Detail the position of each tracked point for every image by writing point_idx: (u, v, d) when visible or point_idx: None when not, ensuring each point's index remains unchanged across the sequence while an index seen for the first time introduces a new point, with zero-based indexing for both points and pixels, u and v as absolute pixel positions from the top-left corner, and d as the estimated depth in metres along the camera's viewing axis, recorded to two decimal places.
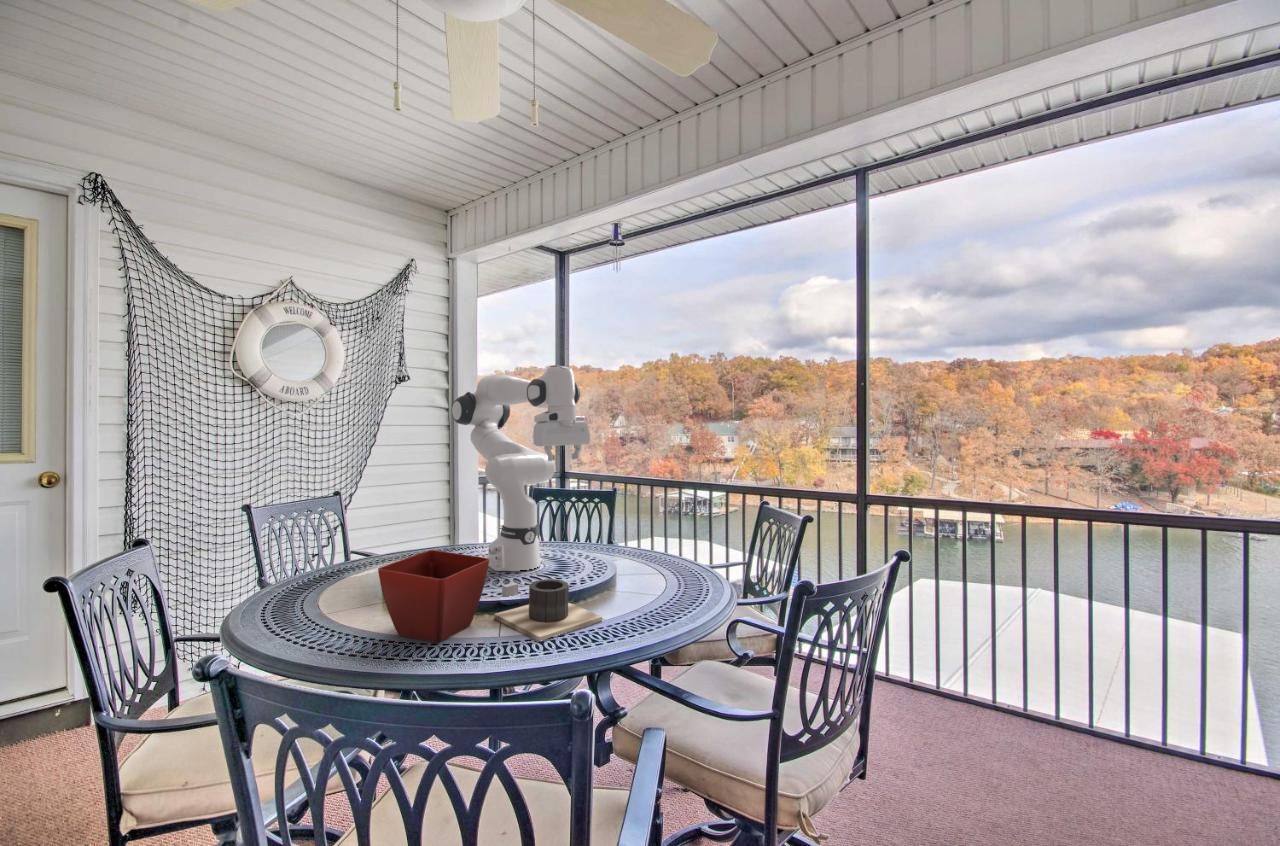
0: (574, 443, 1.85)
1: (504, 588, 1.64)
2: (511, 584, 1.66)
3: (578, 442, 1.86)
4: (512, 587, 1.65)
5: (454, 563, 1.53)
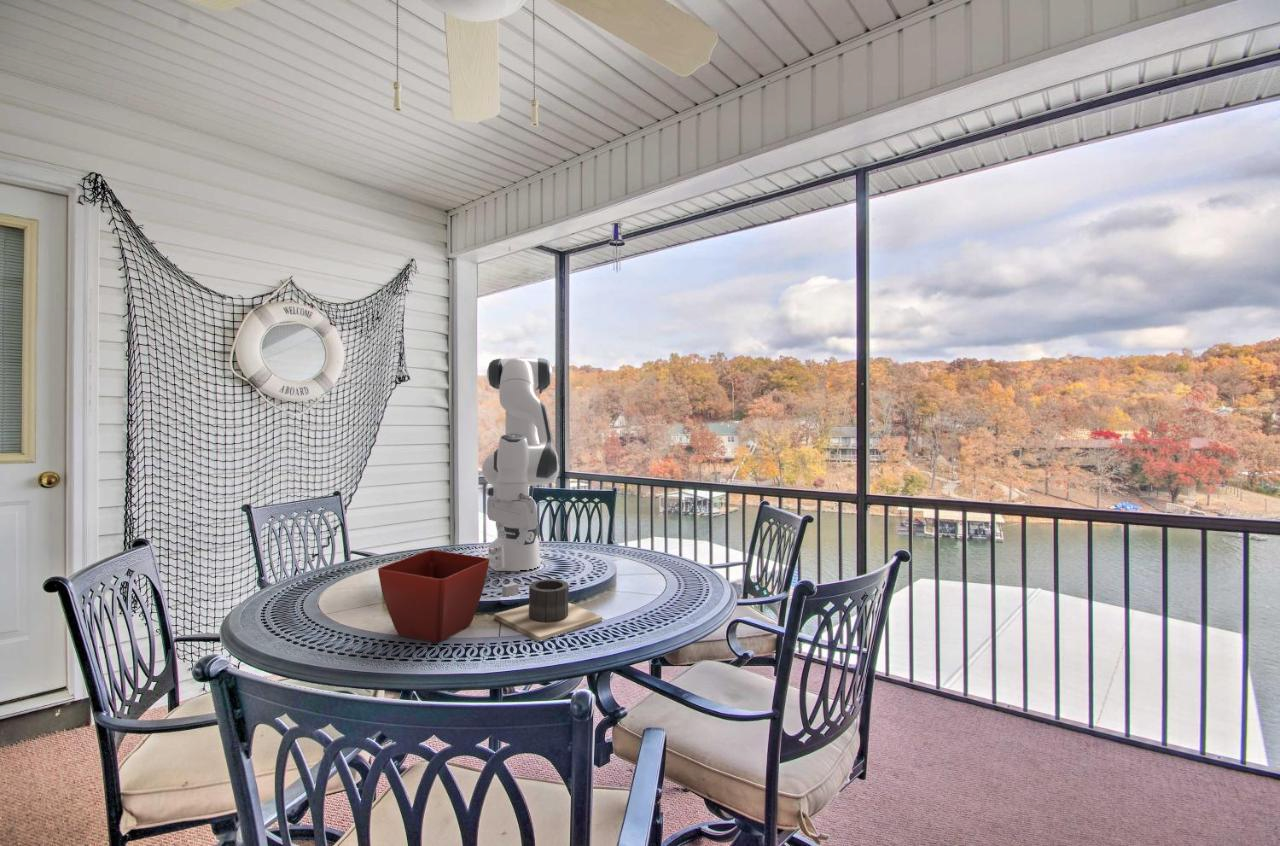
0: (512, 525, 1.62)
1: (504, 588, 1.64)
2: (511, 584, 1.66)
3: (515, 525, 1.60)
4: (512, 587, 1.65)
5: (454, 563, 1.53)
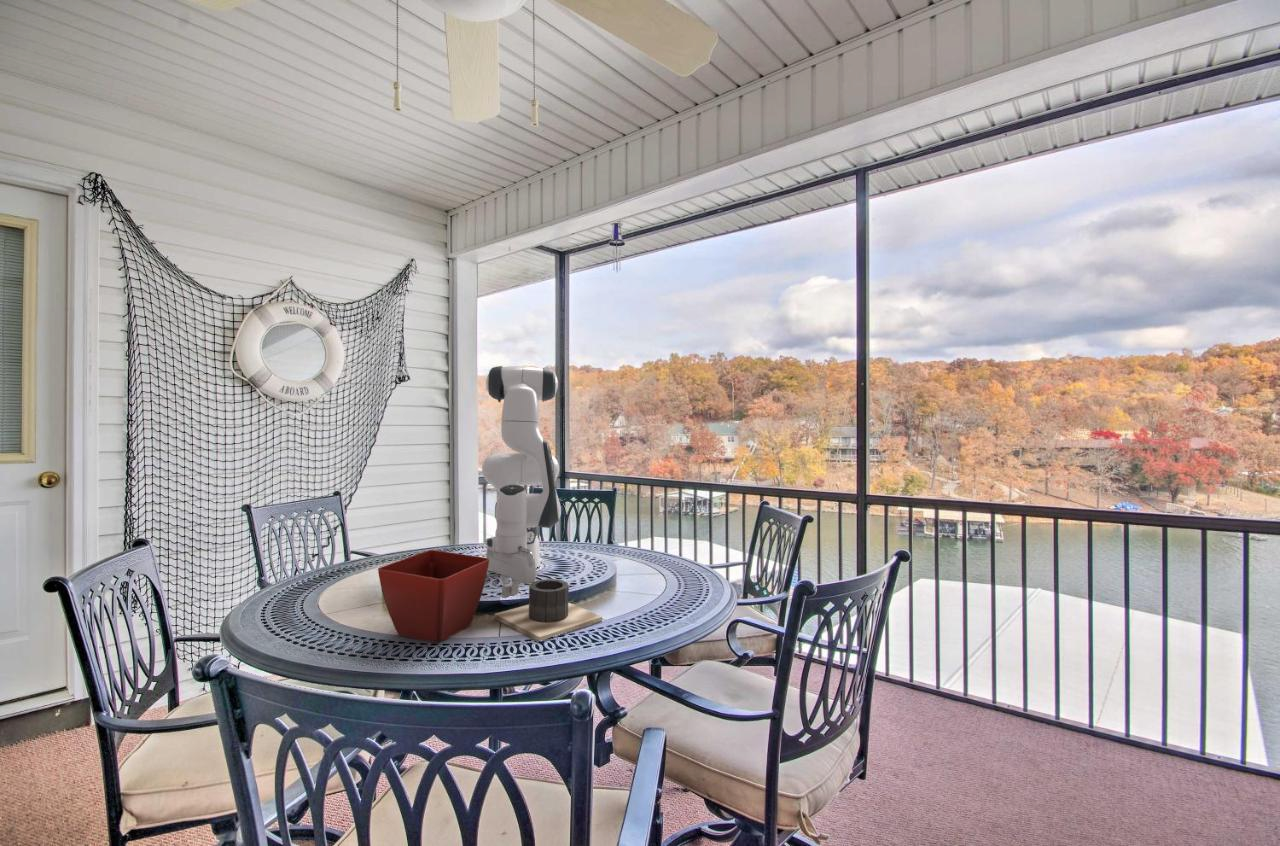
0: (511, 577, 1.62)
1: (504, 588, 1.64)
2: (511, 584, 1.66)
3: (514, 578, 1.61)
4: None
5: (454, 563, 1.53)
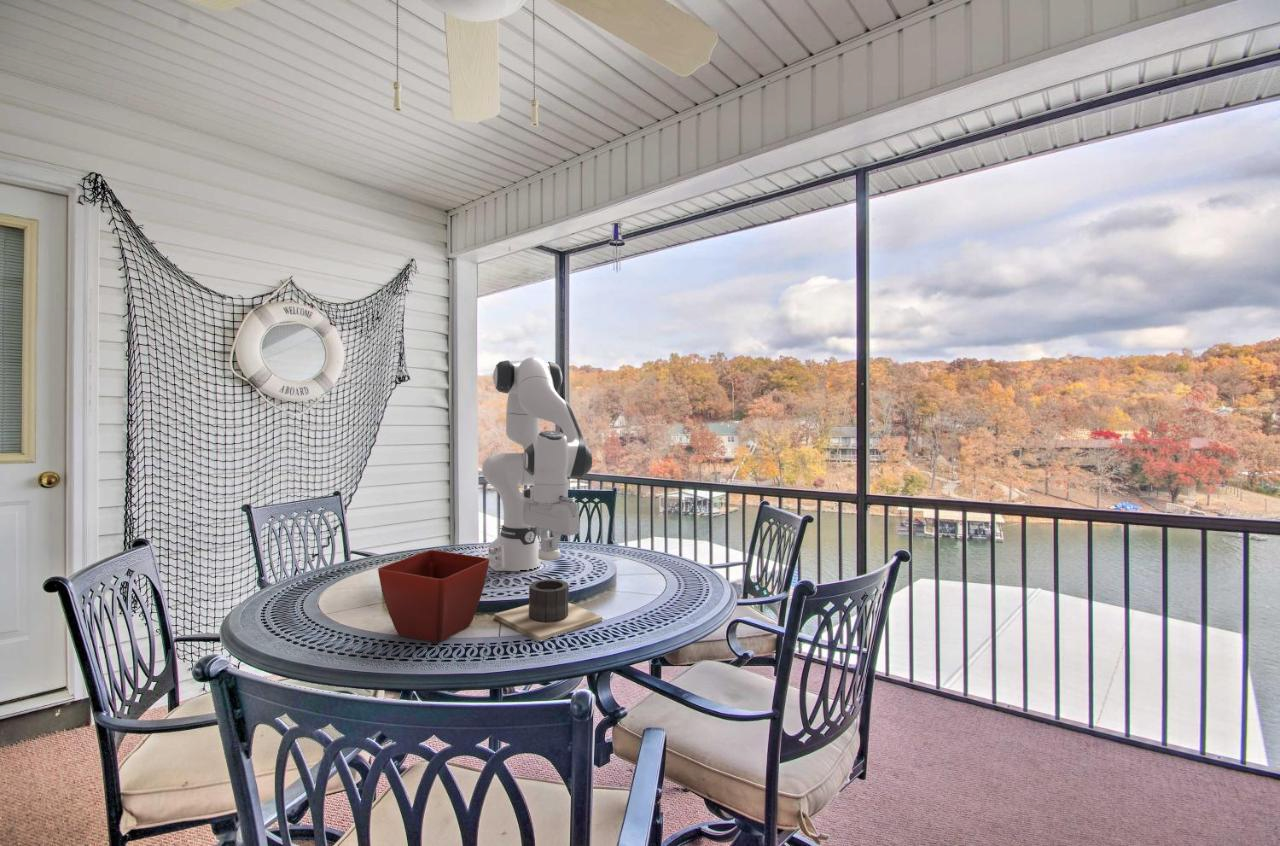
0: (552, 530, 1.49)
1: (543, 542, 1.51)
2: (550, 538, 1.53)
3: (555, 530, 1.48)
4: None
5: (454, 563, 1.53)
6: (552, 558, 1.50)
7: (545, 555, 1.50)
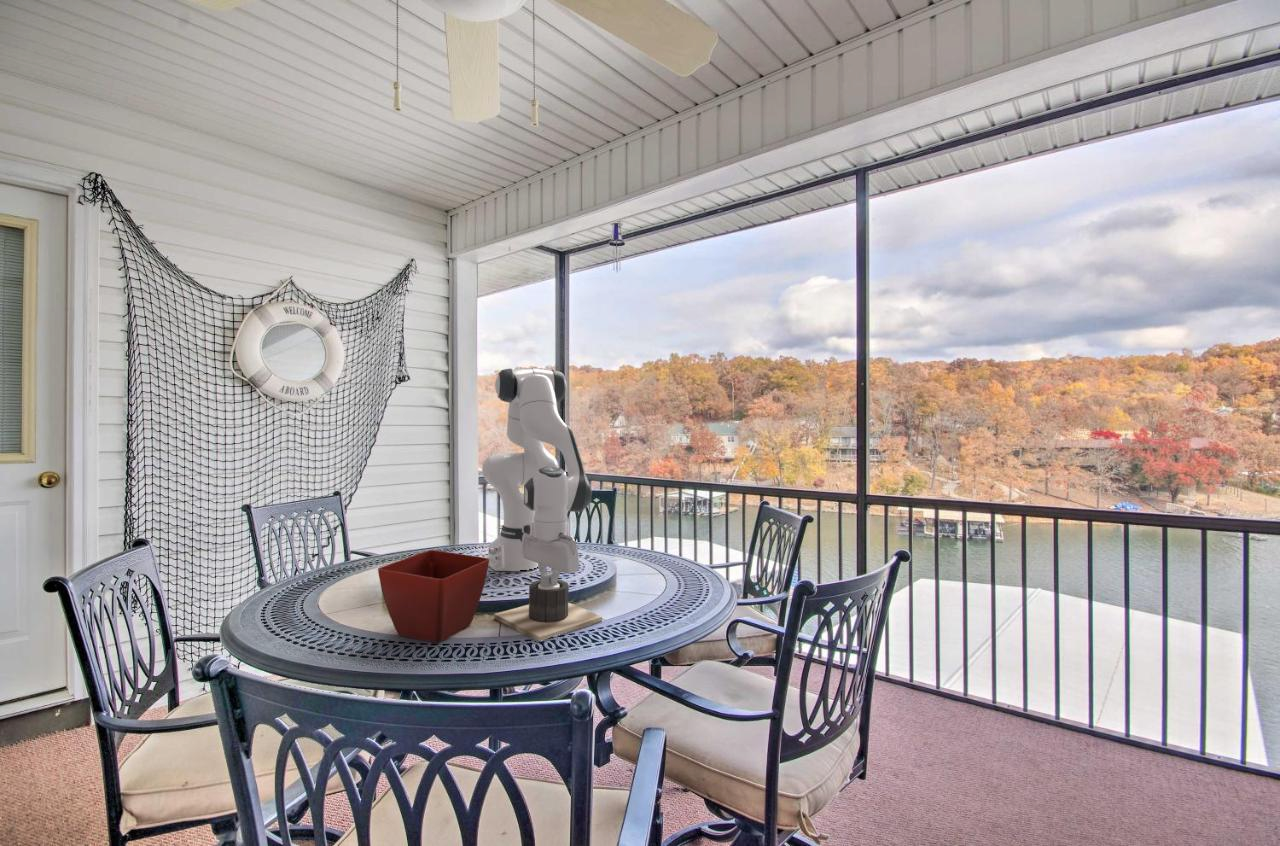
0: (551, 567, 1.50)
1: (543, 577, 1.51)
2: (550, 573, 1.53)
3: (555, 567, 1.48)
4: None
5: (454, 563, 1.53)
6: None
7: None
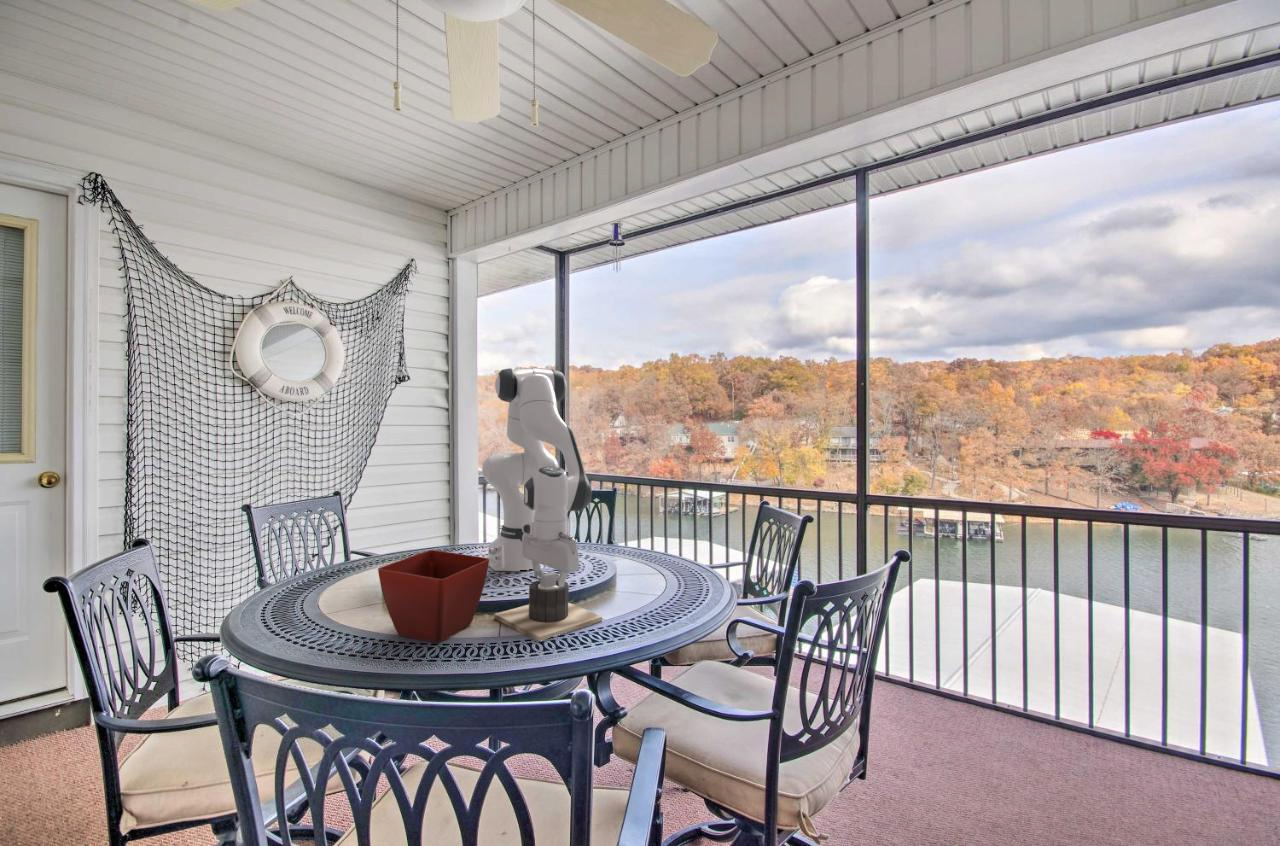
0: (551, 566, 1.50)
1: (543, 577, 1.51)
2: (550, 573, 1.53)
3: (555, 567, 1.48)
4: (552, 577, 1.53)
5: (454, 563, 1.53)
6: None
7: None
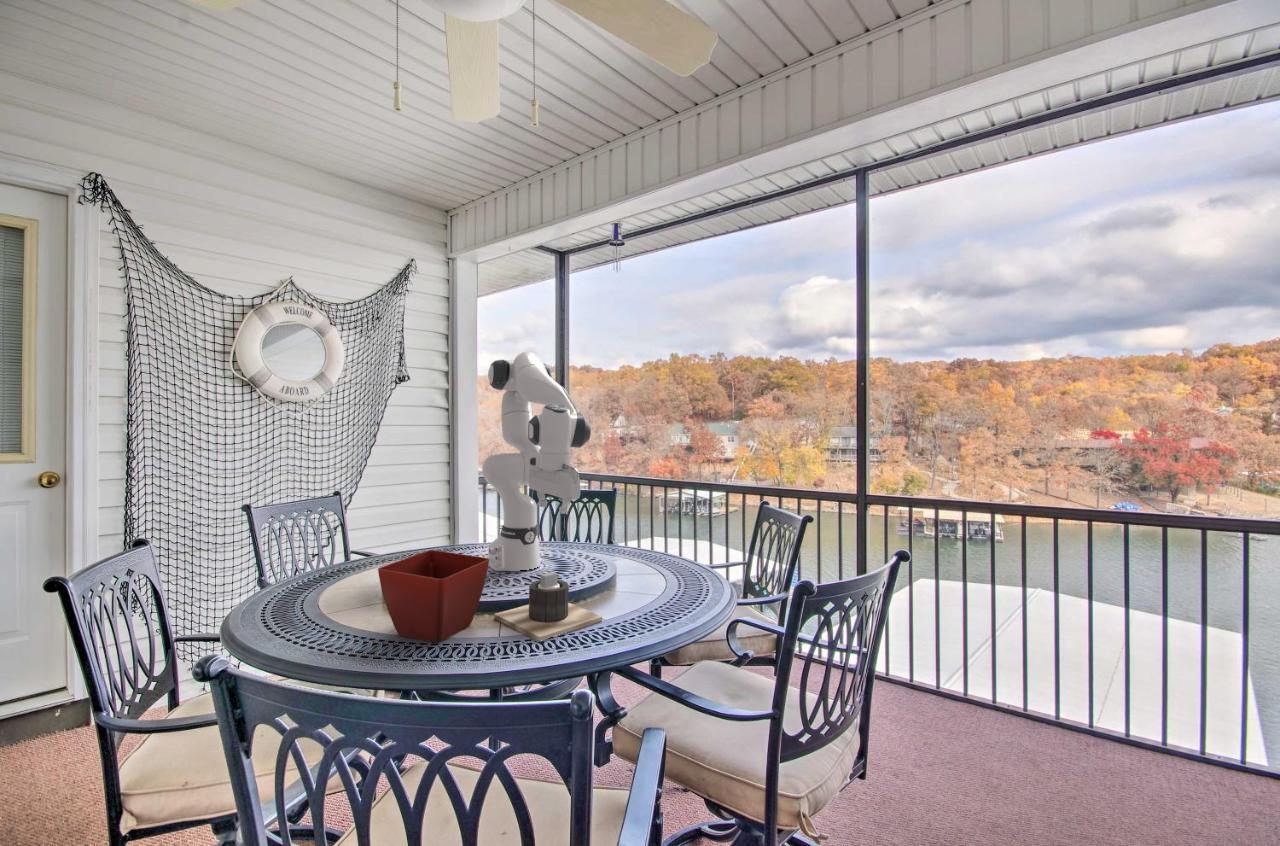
0: (555, 495, 1.63)
1: (543, 577, 1.51)
2: (550, 573, 1.53)
3: (558, 495, 1.62)
4: (552, 577, 1.53)
5: (454, 563, 1.53)
6: None
7: None
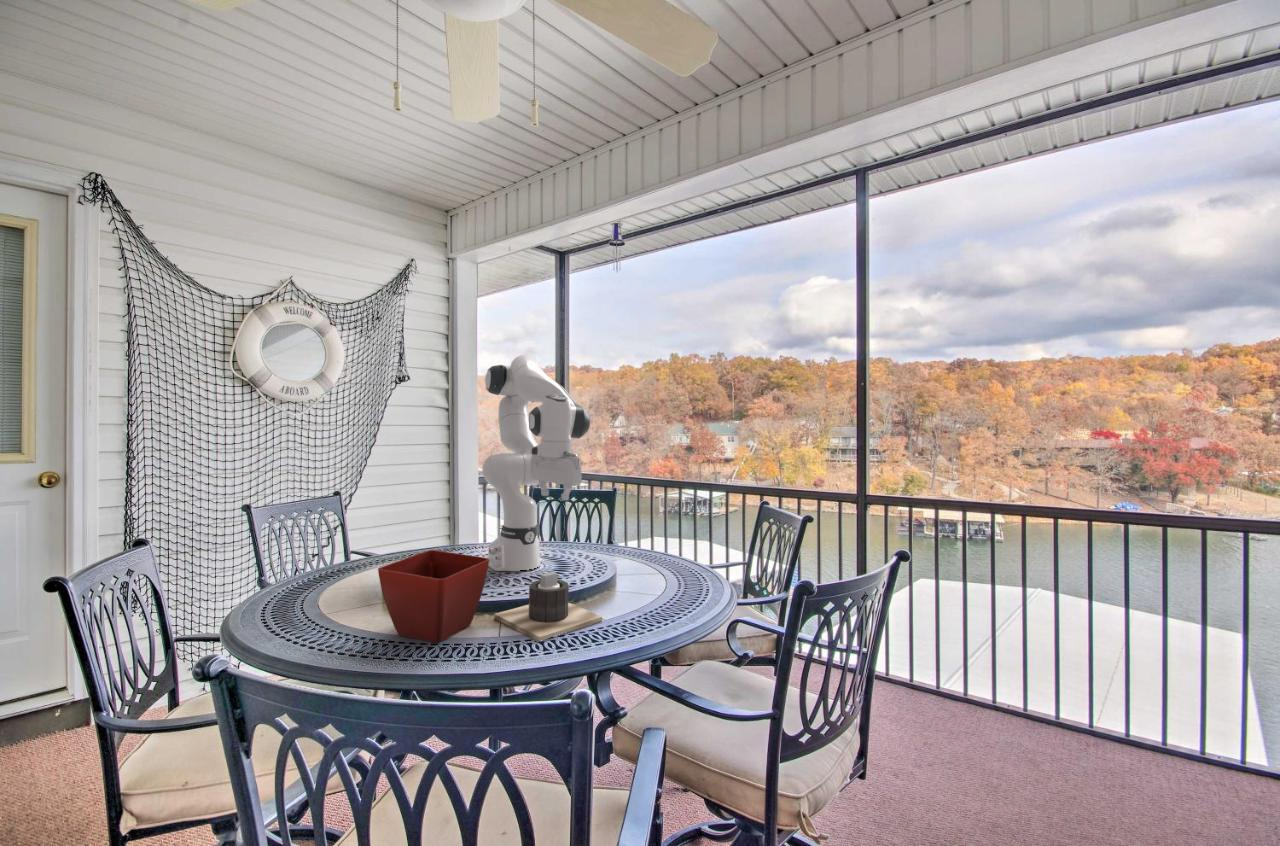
0: (557, 482, 1.67)
1: (543, 577, 1.51)
2: (550, 573, 1.53)
3: (560, 482, 1.66)
4: (552, 577, 1.53)
5: (454, 563, 1.53)
6: None
7: None
